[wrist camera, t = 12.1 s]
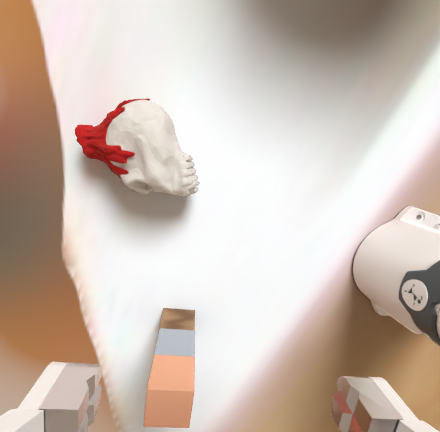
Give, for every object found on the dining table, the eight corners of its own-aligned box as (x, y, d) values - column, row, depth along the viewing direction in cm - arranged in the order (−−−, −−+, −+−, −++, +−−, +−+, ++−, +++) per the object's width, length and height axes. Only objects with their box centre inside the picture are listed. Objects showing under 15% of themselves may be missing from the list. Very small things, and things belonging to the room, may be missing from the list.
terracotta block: (194, 356, 34) (194, 391, 29) (190, 389, 35) (189, 427, 30) (154, 354, 33) (146, 389, 28) (151, 387, 34) (143, 426, 29)
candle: (201, 191, 38) (98, 184, 39) (204, 107, 35) (93, 101, 36) (191, 203, 29) (59, 194, 30) (195, 93, 27) (49, 85, 27)
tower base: (194, 310, 43) (194, 330, 38) (191, 337, 44) (190, 359, 40) (163, 308, 43) (159, 328, 38) (161, 335, 44) (156, 358, 39)
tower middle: (194, 330, 38) (194, 356, 34) (191, 359, 40) (190, 389, 35) (159, 328, 38) (154, 354, 33) (156, 357, 39) (151, 387, 34)
